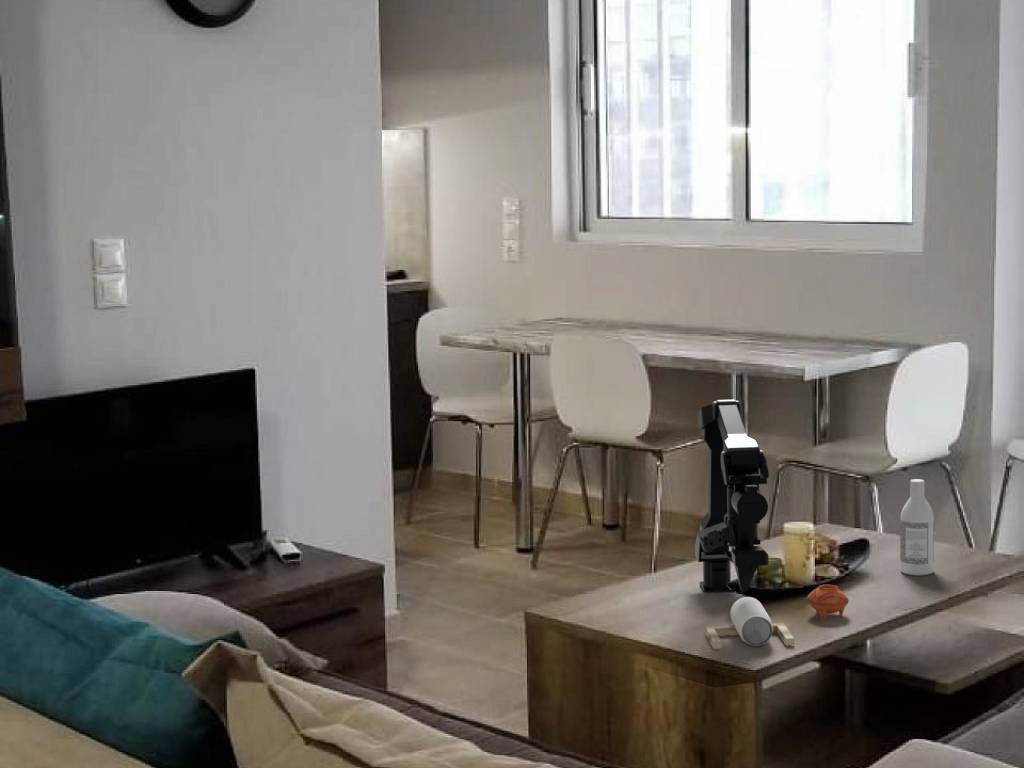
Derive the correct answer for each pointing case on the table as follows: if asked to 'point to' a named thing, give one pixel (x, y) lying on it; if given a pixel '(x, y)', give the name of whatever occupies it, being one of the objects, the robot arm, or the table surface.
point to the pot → (827, 600)
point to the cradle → (717, 631)
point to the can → (751, 621)
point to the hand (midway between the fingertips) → (743, 590)
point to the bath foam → (917, 533)
